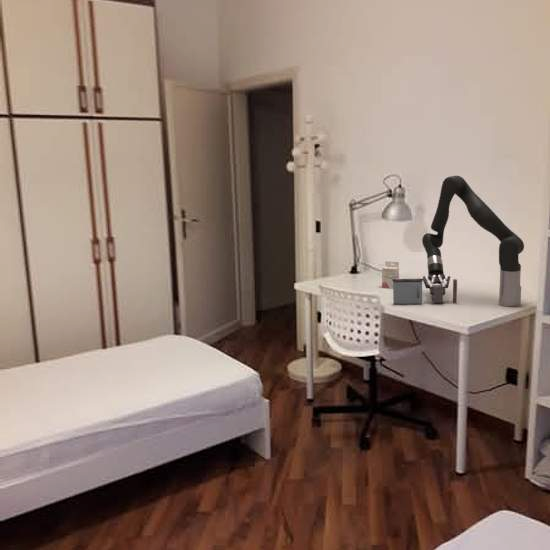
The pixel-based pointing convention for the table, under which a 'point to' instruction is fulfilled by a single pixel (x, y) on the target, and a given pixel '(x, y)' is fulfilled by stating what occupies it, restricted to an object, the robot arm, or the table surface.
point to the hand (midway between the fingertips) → (438, 294)
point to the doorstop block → (437, 294)
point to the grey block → (407, 292)
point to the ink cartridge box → (389, 274)
